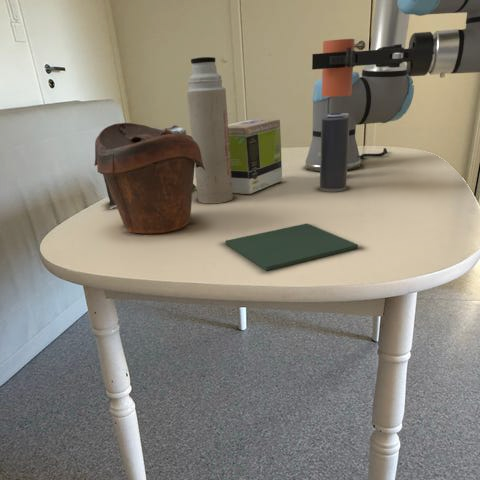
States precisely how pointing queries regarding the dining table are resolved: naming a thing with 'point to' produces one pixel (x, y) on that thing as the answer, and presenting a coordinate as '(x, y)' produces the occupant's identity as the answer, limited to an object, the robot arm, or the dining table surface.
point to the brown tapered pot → (148, 175)
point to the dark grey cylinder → (334, 154)
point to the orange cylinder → (337, 71)
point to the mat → (289, 246)
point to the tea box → (255, 155)
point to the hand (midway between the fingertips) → (312, 62)
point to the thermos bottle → (210, 131)
